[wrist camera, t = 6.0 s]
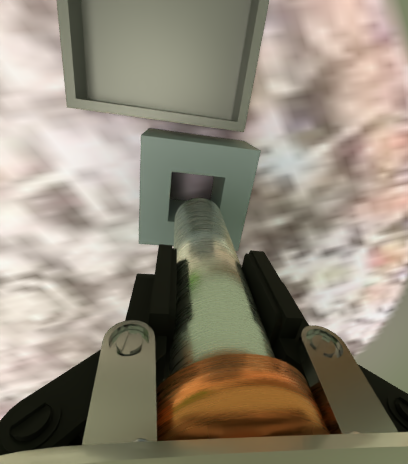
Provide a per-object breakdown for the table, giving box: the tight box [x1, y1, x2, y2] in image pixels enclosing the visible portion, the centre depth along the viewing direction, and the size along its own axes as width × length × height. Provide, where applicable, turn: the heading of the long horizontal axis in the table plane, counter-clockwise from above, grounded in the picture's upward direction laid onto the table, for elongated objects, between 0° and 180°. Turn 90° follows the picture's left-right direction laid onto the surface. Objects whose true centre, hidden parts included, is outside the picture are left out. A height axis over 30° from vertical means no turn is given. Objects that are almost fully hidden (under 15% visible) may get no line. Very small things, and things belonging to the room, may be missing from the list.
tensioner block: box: [139, 128, 261, 251], centre depth 21 cm, size 8×8×5 cm
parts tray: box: [57, 0, 269, 132], centre depth 16 cm, size 12×12×3 cm
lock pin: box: [156, 198, 330, 441], centre depth 11 cm, size 4×4×12 cm
